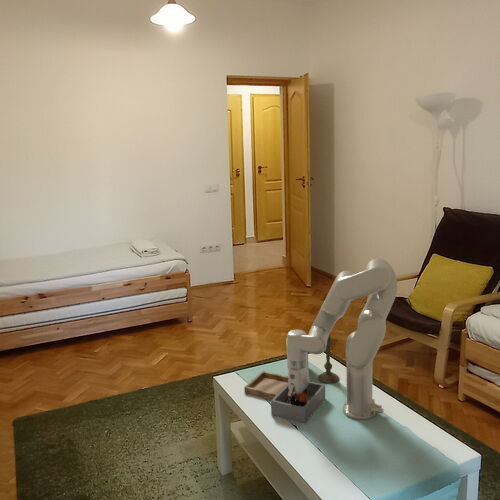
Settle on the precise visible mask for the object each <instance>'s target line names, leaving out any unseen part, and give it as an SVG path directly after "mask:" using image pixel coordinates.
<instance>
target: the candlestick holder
mask: <svg viewBox="0 0 500 500" xmlns="http://www.w3.org/2000/svg"><path fill="white" fill-rule="evenodd" d="M332 341H333V338H332V337H331V333H330V334H329V336H328V340H327V346H326V349H325V354H326V355H325V358H326V359H325V361H326V362H325V363H324V365H323V366H324V369H325V372H323V373H320V374H318V376H317V380H318V381H319V382H320V383H321V384H325V385H326V384H327V385H328V384H329V385H330V384H336V383H338V382H339V381H340V377H339V375H338V374H336V373H334V372H332V368H333V363H331V361H330V359H331V348H330V347H331V346H332Z"/></svg>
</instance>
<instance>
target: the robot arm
mask: <svg viewBox="0 0 500 500" xmlns="http://www.w3.org/2000/svg"><path fill="white" fill-rule="evenodd" d="M397 292H398V278H397V275H396V272H395V269H394V268H393V267H392V265H391V264H390V263H389V262H388V261H387V260H385V259H384V258H380V257H376V258H373V259H371V260H370V261H369V262H368V263H367V265H366V268H365V270H363V271H360V272H358V273H354V272H353V271H351V270H342V271H341V272H339V273H338V274H337V276H336V277H335V279H334V281H333V283H332V285H331V287H330V289H329V291H328V292H327V295H326V298H324V299H325V300H324V301H323V303H322V305H321V307H320V310H319V311H318V313H317V316H316V317H315V318H314V319H315V320H314V321H313V323H312V325H311V327H310V329H309V332H308V334H307V333H306V332H305V331H304V330H302V329H291V330H289V331H288V332H287V335H286V339H287V347H286V354H287V353H288V365H287V368H288V367H289V370H288V372H287V374H288V389H289V393H288V396H289V398H290V401H289V402H290V403H289V404H292V405H296V406H299V402H298V400H297V399H298V394H301V393H302V392H303V391H304V392H305V393H306V394H307V391H306V390H307V387H308V385H309V381H310V371H309V363H308V364H307V353H308V354H311V355H321V354H323V353H324V352H326V346H327V340H328V336H329V334H330V335H331V332H332V330H333V329H334V327H335V324H336V322H337V321H338V320H339V319H341V318H342V317H343V316H344V315H345V314H346V312H347V310H348V308H349V306H350V304H351V302H352V301H354V300H358V299H361V298H363V297H366V296H368V298H367V301H366V302H365V304H364V307H363V309H362V310H361V313H360V314H359V315H358V319H357V328H356V330H355V331H353V332H351V333H350V334H349V335H348V336H347V339H346V342H345V361H346V402H345V403H343V404H342V412H343V414H345V416H347V417H349V418H352V419H353V420H369V419H372V418H373V417H375V416H376V415H377V414H380V415H383V414H384V408H383V405H381V404H377V403H375V402H376V401H375V399H374V398H373V374H374V373H373V361H374V359H375V357H376V355H377V353H378V351H379V349H380V348H381V345H382V343H383V341H384V339H385V336H386V332H387V326H386V321H387V318H388V316H389V313H390V311H391V309H392V306H393V304H394V302H395V299H396V297H397ZM294 390H295V391H296V392H294ZM293 393H295V394H296V396H293Z"/></svg>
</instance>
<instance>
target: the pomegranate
mask: <svg viewBox="0 0 500 500" xmlns="http://www.w3.org/2000/svg"><path fill="white" fill-rule="evenodd" d="M294 392H296V391H295V390H294ZM293 396H296V394H295V393H293ZM308 397H309V396H307V394H306V393H305V392H304V391H303V392H302V393H301V394H298V399H297V400H298V402H299V406H300V407H304V406H305V405H306V404H307V402H308V401H309V398H308ZM288 401H289V402H290V398H289V400H288Z"/></svg>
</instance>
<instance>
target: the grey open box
mask: <svg viewBox="0 0 500 500" xmlns="http://www.w3.org/2000/svg"><path fill="white" fill-rule="evenodd" d="M306 391H307V397H311V398H310V399H308V402H307V404H306V405H305V406H296V405H292V404H290V403H288V401H289V396H288V393H289V389H288V384H287V385H286V386H285V387H284V388H283V389H282V390H281V391H280V392H279V393H278V394H277V395H276V396H275V397H274V398H273V399H272V400H271V399H270V412H271V413H270V414H271V416H273V417H278V418H281V419H285V420H289V421H293V422H295V423H300V424H304V425H306V424H307V423H308V421H309V420H310V419H311V418H312V417H313V415H314V414H315V412H317V410H318V409H319V407H320V406H321V405H322V404H323V403H324V401H325V400H326V384H324V383H318V382H313V381H310V380H309V385H308V387H307V390H306Z"/></svg>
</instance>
